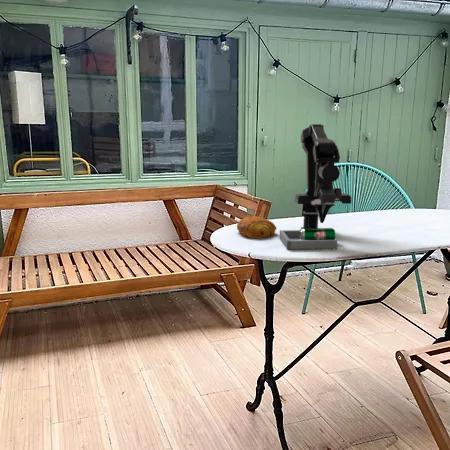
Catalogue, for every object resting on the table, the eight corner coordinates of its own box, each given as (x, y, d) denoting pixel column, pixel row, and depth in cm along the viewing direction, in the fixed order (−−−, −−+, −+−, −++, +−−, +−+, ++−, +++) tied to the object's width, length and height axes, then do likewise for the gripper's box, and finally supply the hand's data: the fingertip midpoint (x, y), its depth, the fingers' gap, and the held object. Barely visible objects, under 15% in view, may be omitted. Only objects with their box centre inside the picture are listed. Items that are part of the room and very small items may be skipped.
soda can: (336, 242, 161) (302, 242, 160) (332, 242, 166) (299, 242, 165) (335, 228, 161) (302, 228, 160) (331, 228, 166) (298, 228, 165)
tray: (279, 238, 171) (279, 230, 170) (324, 237, 172) (324, 229, 171) (287, 249, 155) (287, 241, 154) (336, 249, 156) (337, 240, 155)
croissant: (244, 245, 169) (245, 225, 166) (232, 230, 183) (233, 211, 180) (281, 242, 173) (282, 222, 170) (267, 227, 187) (267, 209, 184)
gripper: (302, 181, 150) (300, 228, 154) (358, 181, 151) (355, 227, 155) (295, 177, 161) (293, 221, 164) (347, 177, 162) (345, 220, 165)
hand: (321, 222), depth 162 cm, fingers closed
